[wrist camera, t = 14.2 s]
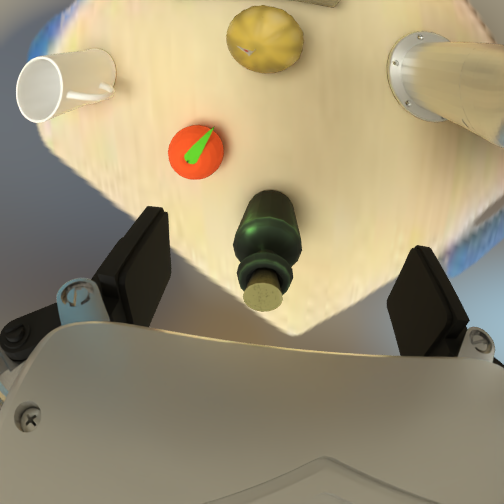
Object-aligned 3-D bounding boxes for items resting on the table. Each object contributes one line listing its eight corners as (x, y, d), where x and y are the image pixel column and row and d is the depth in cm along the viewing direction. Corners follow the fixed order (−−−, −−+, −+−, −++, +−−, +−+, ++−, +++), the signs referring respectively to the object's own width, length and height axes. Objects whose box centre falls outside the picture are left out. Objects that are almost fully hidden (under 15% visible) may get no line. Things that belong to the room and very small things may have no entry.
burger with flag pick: (310, 37, 30) (323, 27, 20) (279, 82, 33) (278, 90, 24) (255, 7, 28) (244, -15, 18) (225, 53, 32) (201, 50, 22)
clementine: (200, 104, 36) (184, 113, 30) (243, 134, 38) (235, 149, 32) (169, 150, 40) (149, 168, 34) (209, 177, 42) (196, 199, 36)
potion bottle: (295, 236, 46) (299, 328, 32) (241, 232, 47) (222, 322, 32) (302, 186, 41) (311, 267, 27) (242, 182, 42) (219, 260, 27)
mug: (144, 66, 33) (96, 73, 23) (121, 120, 38) (73, 145, 28) (81, 42, 30) (24, 47, 21) (63, 93, 35) (9, 112, 25)
